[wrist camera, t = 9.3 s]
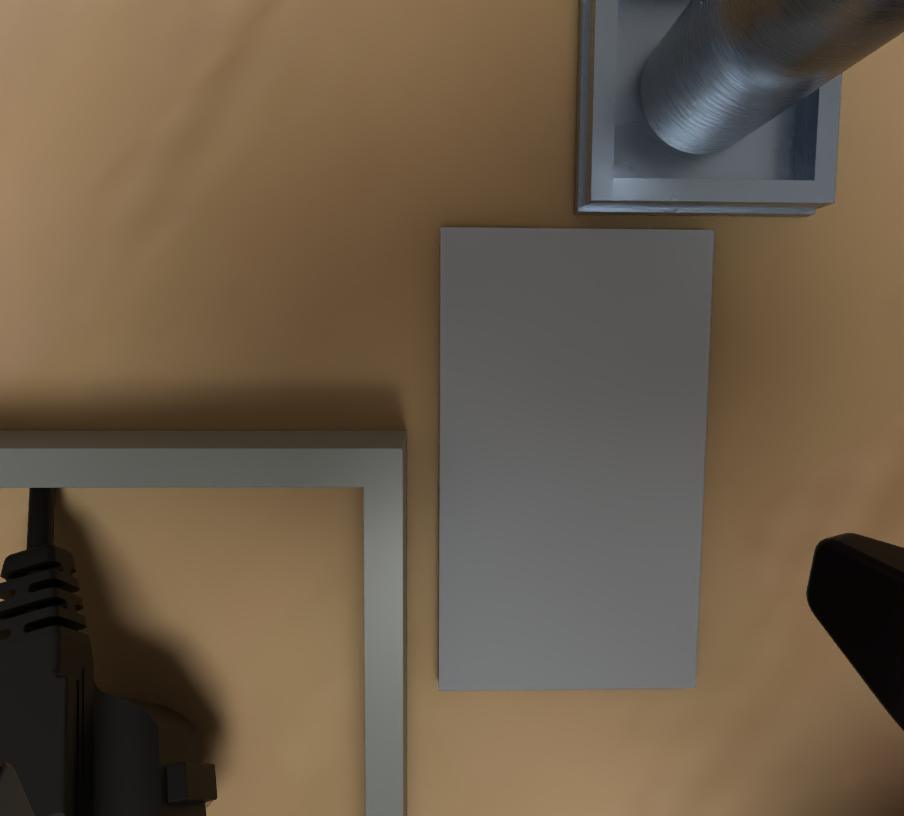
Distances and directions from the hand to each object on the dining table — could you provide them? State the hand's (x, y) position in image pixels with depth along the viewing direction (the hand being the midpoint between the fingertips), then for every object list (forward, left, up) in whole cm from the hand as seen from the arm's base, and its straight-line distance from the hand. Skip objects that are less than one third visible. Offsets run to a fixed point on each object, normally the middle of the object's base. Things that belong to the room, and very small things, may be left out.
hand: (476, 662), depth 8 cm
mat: (0, -4, -14) cm, 15 cm away
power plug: (-6, +10, -15) cm, 19 cm away
